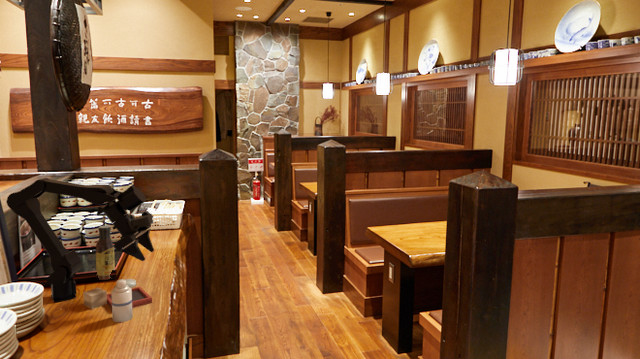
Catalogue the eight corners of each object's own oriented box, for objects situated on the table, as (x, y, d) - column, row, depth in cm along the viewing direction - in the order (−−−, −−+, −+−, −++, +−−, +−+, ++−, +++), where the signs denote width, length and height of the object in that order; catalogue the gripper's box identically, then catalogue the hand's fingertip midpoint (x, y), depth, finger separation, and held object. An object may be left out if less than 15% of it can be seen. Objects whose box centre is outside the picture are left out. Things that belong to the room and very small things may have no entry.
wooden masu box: (92, 309, 137) (91, 296, 136) (83, 305, 140) (83, 292, 139) (107, 304, 141) (106, 291, 140) (98, 300, 144) (98, 287, 143)
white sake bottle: (115, 324, 128) (113, 286, 126) (110, 317, 132) (108, 280, 130) (135, 318, 132) (134, 281, 130) (129, 312, 136) (127, 276, 134)
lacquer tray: (114, 312, 135) (114, 307, 135) (104, 299, 144) (104, 294, 143) (151, 302, 143) (151, 297, 142) (140, 291, 151) (139, 286, 151)
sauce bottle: (107, 281, 159) (105, 229, 156) (92, 279, 160) (90, 228, 157) (119, 275, 165) (116, 225, 162) (104, 273, 166) (102, 224, 163)
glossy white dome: (121, 290, 152) (120, 286, 152) (115, 285, 156) (115, 281, 156) (138, 286, 156) (138, 282, 156) (132, 281, 160) (132, 277, 160)
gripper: (129, 211, 133) (160, 251, 135) (149, 199, 151) (175, 235, 154) (100, 231, 133) (131, 270, 135) (123, 216, 151) (149, 251, 154)
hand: (148, 255), depth 145 cm, fingers open, 9 cm apart
